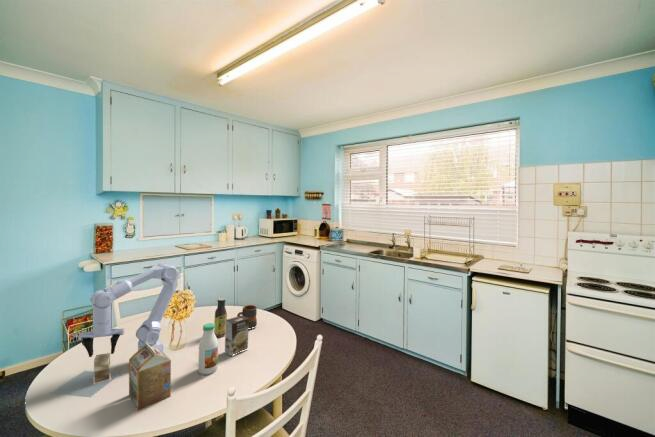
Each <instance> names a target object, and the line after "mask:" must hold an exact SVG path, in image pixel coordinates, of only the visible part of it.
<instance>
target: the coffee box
mask: <svg viewBox="0 0 655 437" xmlns="http://www.w3.org/2000/svg"><path fill="white" fill-rule="evenodd" d="M248 328H249V318H247V317H245V316H243V315H240V316H238V317H237V316H235V317H232V318H231V317H230V318H227V320H226V333H225V335H224V337H225V340H224V341H225V342H224V352H227V353H228V354H227V353H226V354H227V355H229V354H231V355H233V354H236V353H238V352H240V351H242V350H245V349H247V348H248V349H249V330H248Z"/></svg>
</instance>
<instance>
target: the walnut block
mask: <svg viewBox="0 0 655 437" xmlns="http://www.w3.org/2000/svg"><path fill="white" fill-rule="evenodd" d="M109 373H110V368H109V369H106V370H101V371H96V372H95V383H97V382H101V381H104V380H108V379H109Z"/></svg>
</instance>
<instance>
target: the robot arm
mask: <svg viewBox="0 0 655 437" xmlns="http://www.w3.org/2000/svg"><path fill="white" fill-rule="evenodd" d="M179 273H180V272H179V270H178V269H177V267H176V266H174V265H169V264H167V263H166V262H160V263H157V264H155V265H152V267H151V268H149V269H147V270H145V271H144V272H142V273H140V274H138V275H136V276H134V277H132V278H131V279H128V280H126V279H123V280H121V279H120V280H118V281H117V282H116V283H115V284H112V285H110V286H108V287H104V289H100V290H97V291H94V292H93V294H92V295H91V297H90V298H89V300H90V302H91V303H92V330H91V331H86V332H82V333H79V334H78V338H77V339H78V340H77V341H81V345H82V346H83V347H84V348H85V349H86V351H87V354H88V357H89V358H91V357H93V355H94V338H105V337H110V336H111V337H110V339H109V340H110V346H111V347H110V355H114V353H115V352H116V351H115V350H116V347H117V343H118V341H119V338H120V336H124V334H125V328H112V304H113V302H114V301H115V300H117V299H119V298H121V297H123V296H125V295H127V294H129V293H131V292H132V290H133V289H134V287H137V286H139V285H140V284H143V283H145V282H148V281H150V280H151V279H158V280H161V282H162V284H163V286H162V289H161V291H160V293H159V294H158V297H157V299H156V300H155V303H154V304H153V307H152V309H151V311H150V314H149V316H148V318H147V319H146V320H144V321H143V322H142V323H141V325H140V326H139V327H138V328H137V329H136V332H135V337H136V338H137V339H138V342H137V351H139V350H140V349H141V348H142V347H144V346H145V342H147V344H148V345H149V346H153V347H156V348H158V349H160V350H161V351H162V352H163V353H164V344H163V343H162V342H159V340H160V332H161V330H162V327H161V326H162V325H161V321H162V320H163V317H164V315H165V313H166V311H167V309H168V306H169V305H170V302H172V298H173V296H174V294H175V292H176V289H177V287H178V284H179V277H178V276H179Z"/></svg>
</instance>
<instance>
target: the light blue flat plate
mask: <svg viewBox="0 0 655 437" xmlns="http://www.w3.org/2000/svg"><path fill="white" fill-rule="evenodd" d="M120 375H121V373H115V372H109V379H108V380H104V381H101V382H97V383H95V372H94V370H84V371H82V372H80V373H79V374H77V375H76V376H75V377H73V378H71V379H70V380H68V381H67V382H65V383H63V384H62V385H60V386H59V387H57V388H55V389H54V390H52V391H51V392H50V394H54V395H64V396H72V397H73V396H76V397H86V398H91V397H93V396H94V395H96V394H97V393H98V392H100V391H101V390H102V389H104V388H105V387H106V386H107V385H109V384H110V383H111V382H113V381H114V380H115V379H116V378H118V377H119V376H120Z"/></svg>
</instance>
